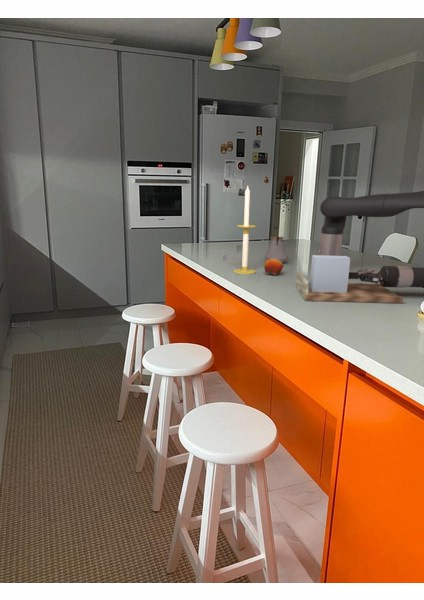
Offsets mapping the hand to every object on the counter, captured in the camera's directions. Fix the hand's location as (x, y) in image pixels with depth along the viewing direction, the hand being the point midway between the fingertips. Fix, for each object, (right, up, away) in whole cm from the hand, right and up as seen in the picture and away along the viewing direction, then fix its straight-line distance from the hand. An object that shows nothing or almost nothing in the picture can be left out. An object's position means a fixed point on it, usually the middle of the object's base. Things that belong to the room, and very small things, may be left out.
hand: (346, 275), depth 148 cm
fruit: (-21, +2, +35) cm, 41 cm away
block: (-6, -5, +1) cm, 8 cm away
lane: (0, -7, +2) cm, 7 cm away
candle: (-33, +4, +40) cm, 52 cm away
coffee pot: (-16, +9, +60) cm, 63 cm away
